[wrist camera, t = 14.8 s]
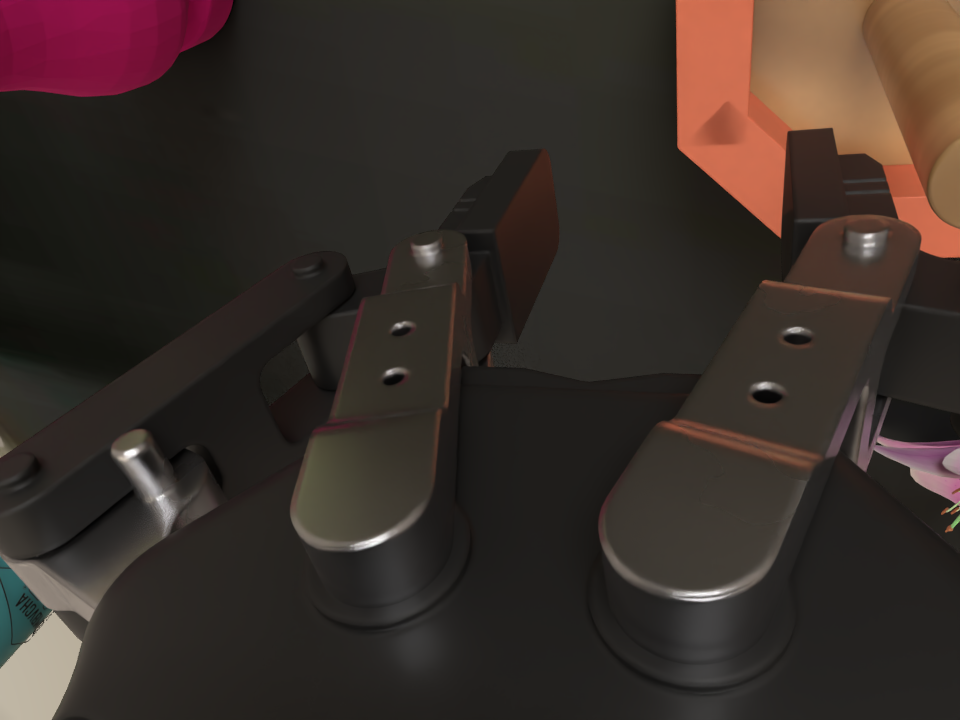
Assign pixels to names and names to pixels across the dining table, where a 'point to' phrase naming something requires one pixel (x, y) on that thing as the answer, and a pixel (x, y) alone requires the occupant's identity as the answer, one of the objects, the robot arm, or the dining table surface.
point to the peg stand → (869, 81)
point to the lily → (929, 466)
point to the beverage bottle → (17, 612)
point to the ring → (758, 123)
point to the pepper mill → (99, 42)
